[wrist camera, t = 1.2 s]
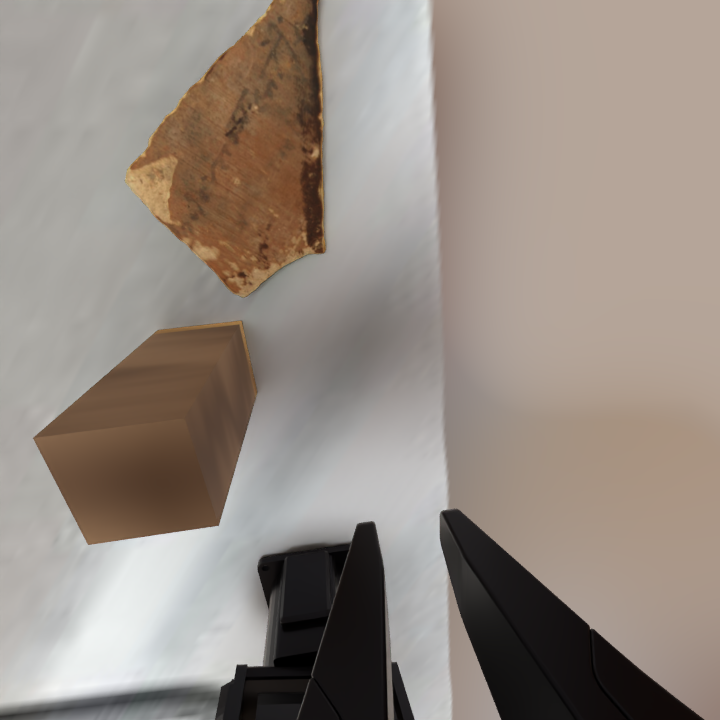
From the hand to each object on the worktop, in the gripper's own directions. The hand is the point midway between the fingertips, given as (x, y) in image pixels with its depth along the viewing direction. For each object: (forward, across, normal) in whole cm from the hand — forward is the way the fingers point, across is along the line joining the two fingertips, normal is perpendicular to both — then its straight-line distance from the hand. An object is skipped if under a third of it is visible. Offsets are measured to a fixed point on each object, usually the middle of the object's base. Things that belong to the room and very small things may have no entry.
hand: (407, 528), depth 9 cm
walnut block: (+12, +8, 0) cm, 14 cm away
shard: (+13, +4, -9) cm, 17 cm away
